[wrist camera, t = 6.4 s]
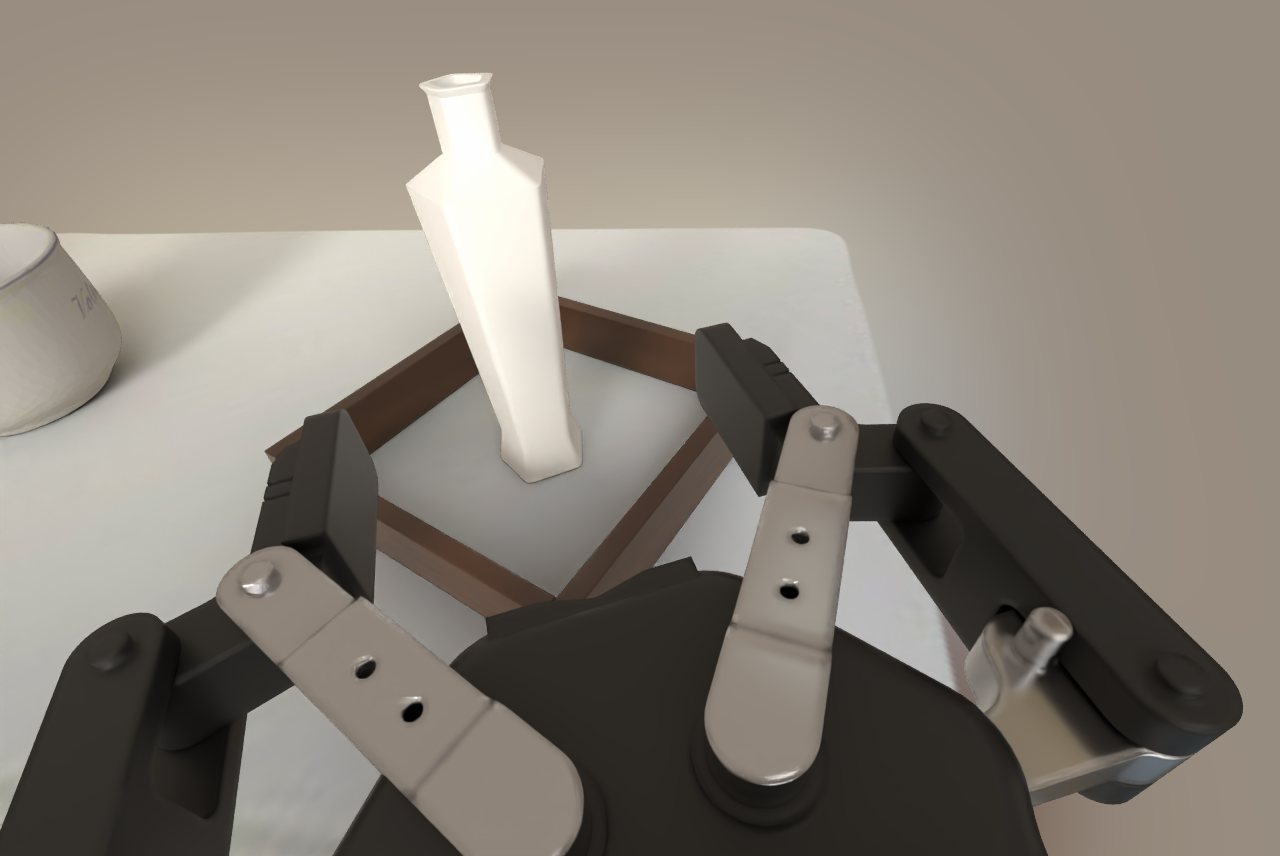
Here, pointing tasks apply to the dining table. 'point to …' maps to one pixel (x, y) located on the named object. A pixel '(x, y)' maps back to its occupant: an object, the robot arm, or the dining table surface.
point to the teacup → (48, 331)
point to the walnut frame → (631, 541)
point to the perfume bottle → (499, 272)
